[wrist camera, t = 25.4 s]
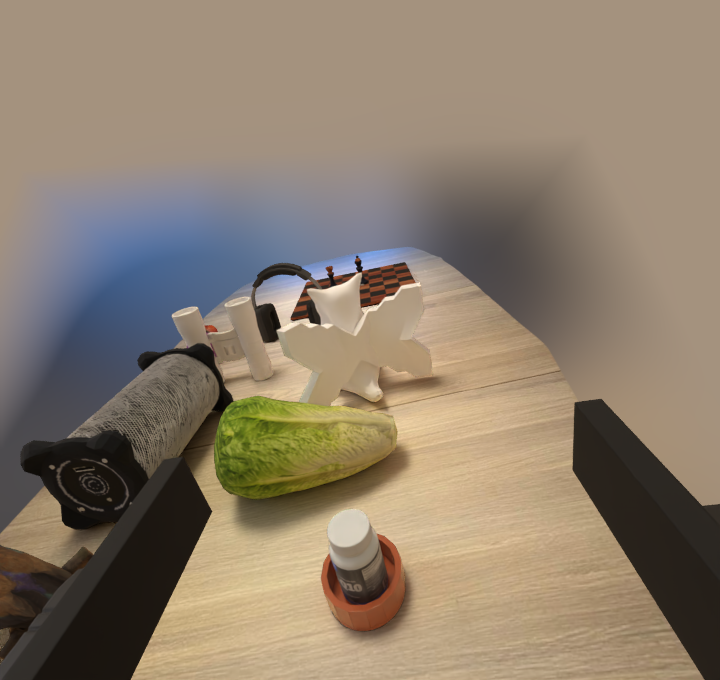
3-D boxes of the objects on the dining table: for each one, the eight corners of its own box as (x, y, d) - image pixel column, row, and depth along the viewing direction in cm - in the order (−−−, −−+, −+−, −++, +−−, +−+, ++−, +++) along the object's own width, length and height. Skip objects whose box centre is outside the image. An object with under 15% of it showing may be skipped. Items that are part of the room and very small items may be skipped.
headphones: (257, 344, 103) (232, 274, 95) (266, 334, 109) (244, 267, 100) (333, 335, 97) (313, 260, 89) (338, 325, 103) (321, 254, 95)
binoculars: (277, 367, 87) (253, 294, 80) (272, 379, 82) (245, 303, 75) (208, 379, 89) (178, 309, 82) (199, 391, 84) (166, 318, 77)
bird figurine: (163, 570, 43) (9, 460, 38) (93, 677, 34) (-116, 552, 30) (114, 597, 49) (-25, 505, 44) (44, 694, 40) (-136, 592, 36)
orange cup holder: (416, 564, 38) (412, 545, 37) (386, 646, 32) (380, 626, 31) (351, 541, 42) (346, 523, 41) (313, 611, 36) (305, 592, 35)
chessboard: (405, 264, 148) (401, 236, 143) (420, 295, 111) (415, 259, 107) (307, 284, 151) (300, 257, 146) (291, 321, 114) (281, 287, 110)
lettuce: (391, 436, 61) (404, 516, 49) (241, 445, 61) (215, 528, 48) (392, 364, 54) (408, 435, 42) (223, 373, 54) (187, 447, 41)
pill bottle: (333, 590, 37) (311, 533, 34) (363, 553, 40) (346, 496, 37) (368, 621, 34) (348, 561, 31) (398, 578, 37) (384, 519, 34)
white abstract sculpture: (389, 345, 86) (372, 254, 77) (444, 383, 67) (429, 269, 58) (285, 385, 78) (253, 290, 70) (314, 440, 60) (275, 320, 51)
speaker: (66, 537, 52) (1, 454, 46) (172, 413, 78) (140, 349, 71) (164, 528, 50) (110, 440, 44) (239, 403, 75) (212, 337, 69)
